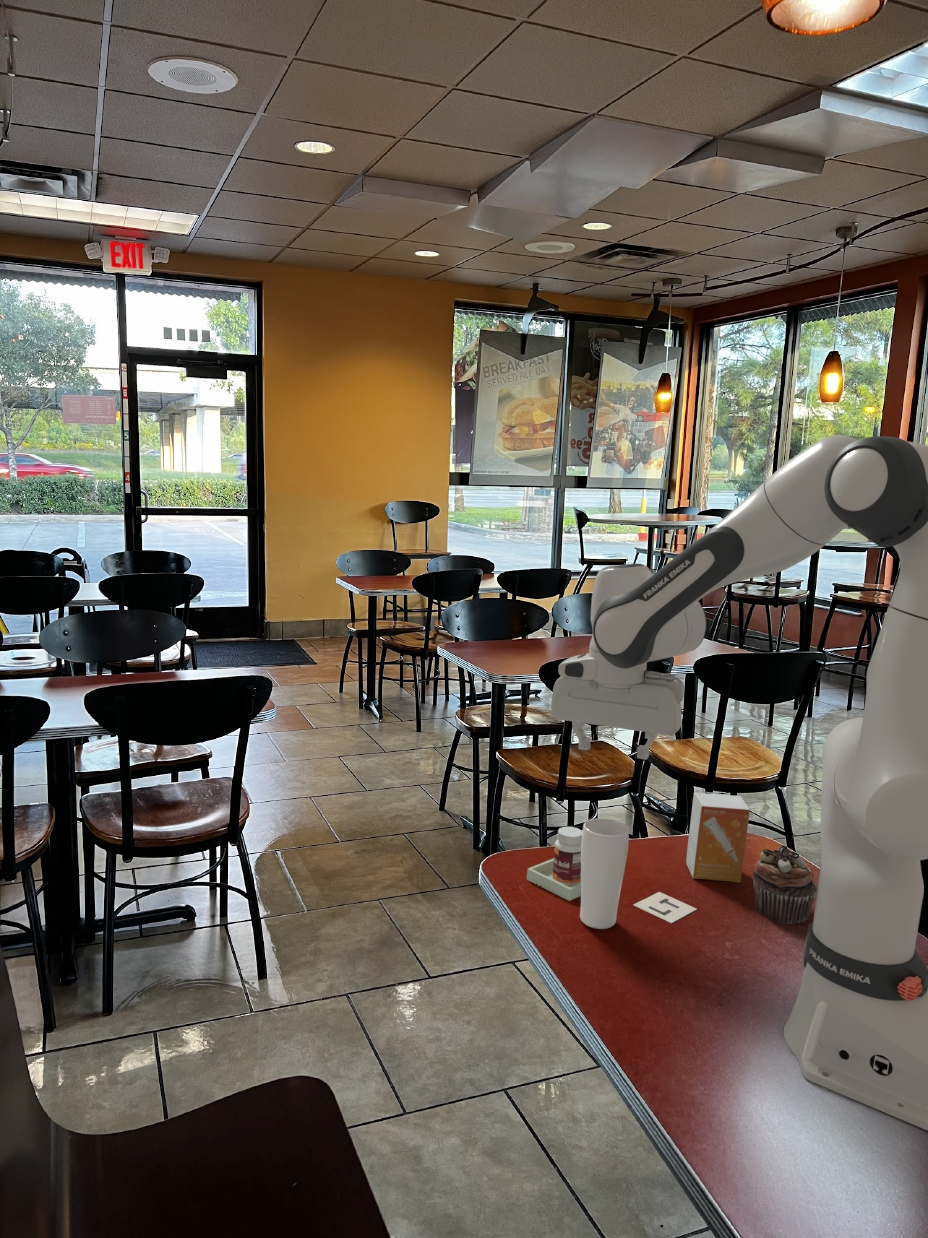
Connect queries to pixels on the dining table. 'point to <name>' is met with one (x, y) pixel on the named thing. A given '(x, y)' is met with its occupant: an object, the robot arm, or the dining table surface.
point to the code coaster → (665, 907)
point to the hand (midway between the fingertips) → (613, 753)
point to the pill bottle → (567, 856)
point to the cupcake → (783, 886)
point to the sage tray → (551, 881)
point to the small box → (717, 837)
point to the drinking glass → (602, 870)
